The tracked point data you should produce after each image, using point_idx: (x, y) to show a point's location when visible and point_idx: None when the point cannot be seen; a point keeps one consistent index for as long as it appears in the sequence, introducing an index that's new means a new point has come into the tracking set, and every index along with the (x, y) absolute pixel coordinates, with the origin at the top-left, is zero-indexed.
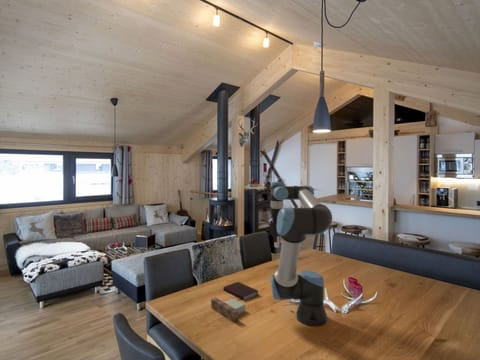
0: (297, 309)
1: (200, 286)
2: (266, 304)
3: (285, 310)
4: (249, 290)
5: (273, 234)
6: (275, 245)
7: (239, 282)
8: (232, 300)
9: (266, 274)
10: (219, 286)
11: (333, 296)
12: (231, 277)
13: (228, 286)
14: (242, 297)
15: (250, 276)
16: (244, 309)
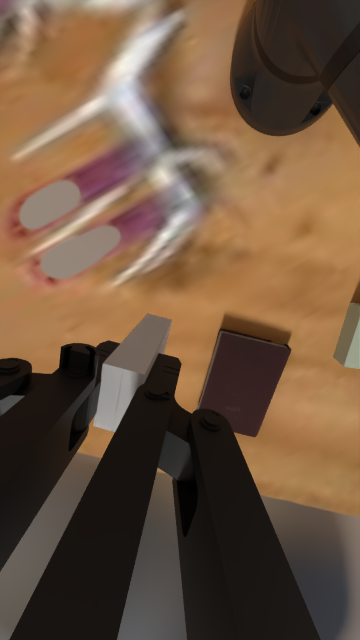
0: (303, 118)
1: (268, 490)
2: (271, 270)
3: (277, 191)
4: (239, 358)
5: (236, 449)
6: (162, 352)
7: None
8: (357, 357)
9: None
10: None
11: (61, 88)
12: None
13: (247, 426)
14: (289, 352)
15: None
16: (357, 304)
